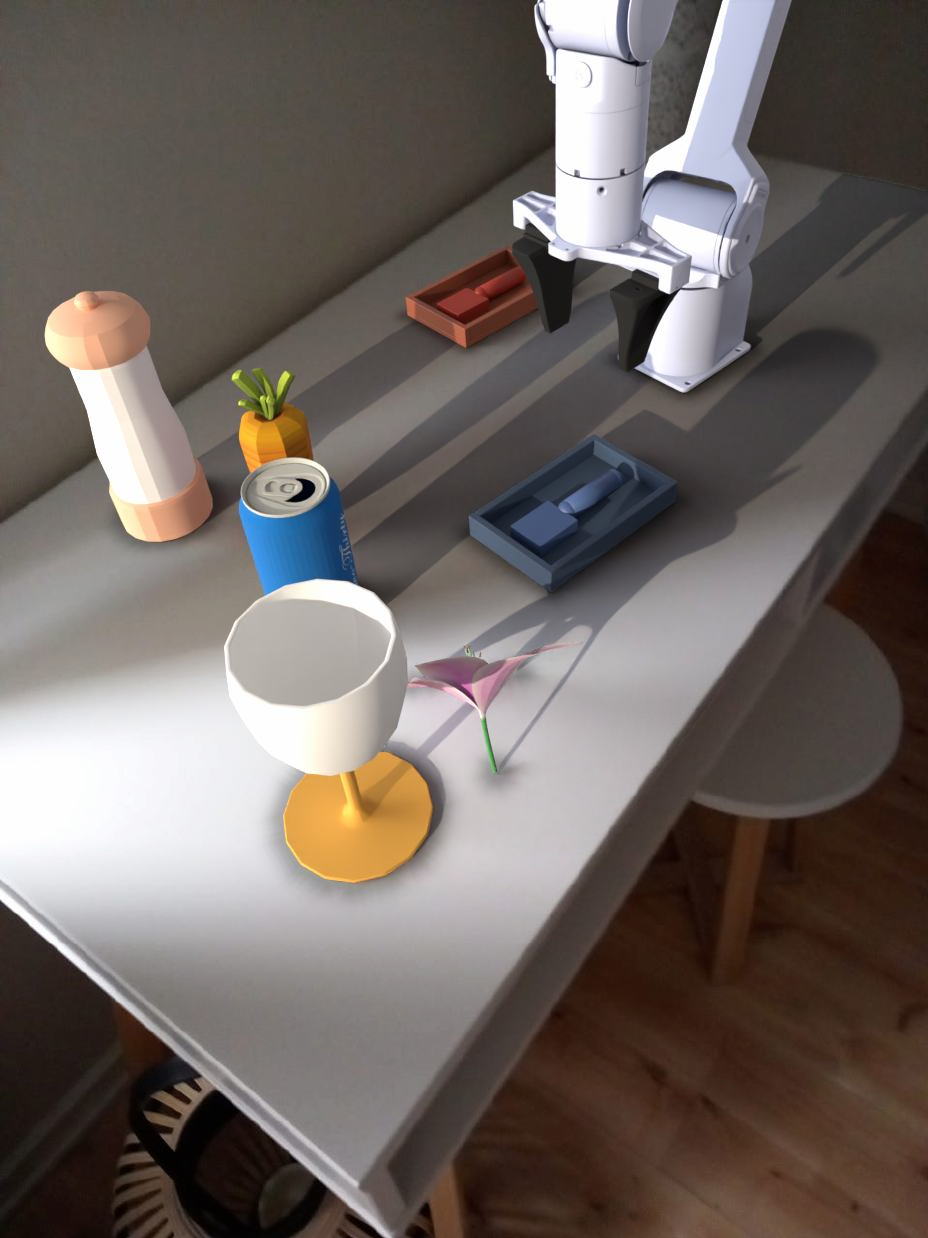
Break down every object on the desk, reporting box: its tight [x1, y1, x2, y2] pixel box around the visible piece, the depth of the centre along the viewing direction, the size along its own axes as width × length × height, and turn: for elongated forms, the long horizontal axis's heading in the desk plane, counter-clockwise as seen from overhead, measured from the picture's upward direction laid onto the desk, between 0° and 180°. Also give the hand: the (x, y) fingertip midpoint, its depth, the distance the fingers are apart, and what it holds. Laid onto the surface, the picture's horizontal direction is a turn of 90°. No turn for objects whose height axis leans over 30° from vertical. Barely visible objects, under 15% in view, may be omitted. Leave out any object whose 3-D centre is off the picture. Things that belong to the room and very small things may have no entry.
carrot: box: [231, 367, 315, 474], centre depth 70 cm, size 5×5×15 cm
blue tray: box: [468, 433, 679, 593], centre depth 74 cm, size 14×9×2 cm, turn 132°
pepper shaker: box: [44, 290, 214, 543], centre depth 71 cm, size 7×7×19 cm
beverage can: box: [238, 458, 360, 596], centre depth 65 cm, size 6×6×12 cm
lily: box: [407, 641, 583, 774], centre depth 60 cm, size 12×12×10 cm
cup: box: [223, 579, 434, 884], centre depth 53 cm, size 9×9×16 cm
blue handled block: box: [510, 469, 623, 557], centre depth 74 cm, size 10×3×2 cm, turn 132°
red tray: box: [405, 245, 538, 349], centre depth 96 cm, size 14×9×2 cm, turn 132°
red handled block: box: [437, 267, 526, 324], centre depth 96 cm, size 10×3×2 cm, turn 132°
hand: (593, 345), depth 72 cm, fingers open, 7 cm apart
